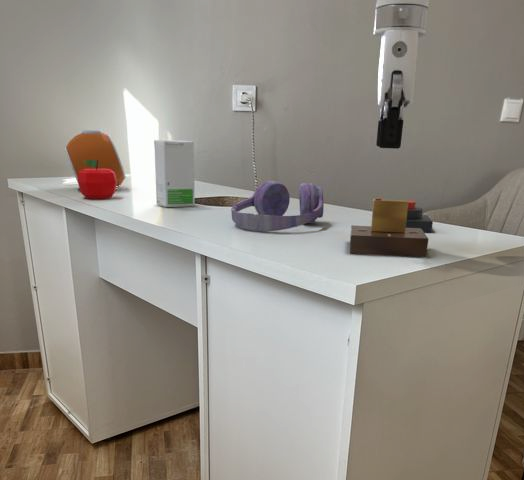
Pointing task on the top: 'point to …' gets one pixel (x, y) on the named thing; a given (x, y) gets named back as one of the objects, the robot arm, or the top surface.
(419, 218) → the block
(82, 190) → the apple
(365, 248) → the plate
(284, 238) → the top surface
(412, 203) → the bell button
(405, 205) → the lock knob
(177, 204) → the cosmetic box
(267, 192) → the headphones
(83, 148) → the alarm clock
